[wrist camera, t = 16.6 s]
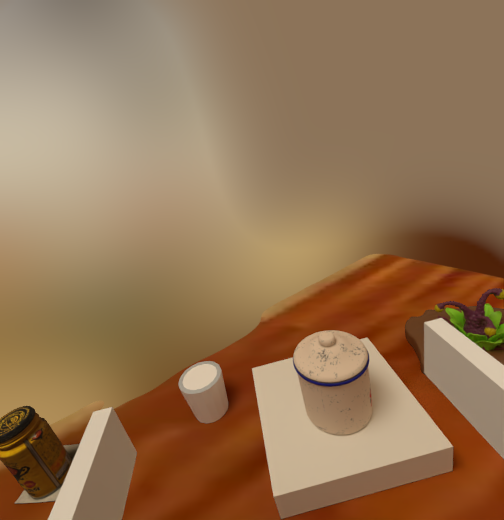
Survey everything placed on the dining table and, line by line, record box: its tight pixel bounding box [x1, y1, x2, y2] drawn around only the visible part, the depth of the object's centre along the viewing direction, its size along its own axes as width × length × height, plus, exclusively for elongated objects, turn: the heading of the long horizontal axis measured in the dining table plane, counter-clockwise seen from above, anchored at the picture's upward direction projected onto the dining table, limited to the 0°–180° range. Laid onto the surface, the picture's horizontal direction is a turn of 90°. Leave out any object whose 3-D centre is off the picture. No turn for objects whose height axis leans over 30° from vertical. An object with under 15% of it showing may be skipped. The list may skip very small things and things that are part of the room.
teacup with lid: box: [293, 330, 373, 435], centre depth 40 cm, size 12×9×12 cm
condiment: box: [0, 406, 80, 503], centre depth 44 cm, size 7×8×12 cm
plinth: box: [252, 338, 453, 519], centre depth 43 cm, size 20×20×4 cm
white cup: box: [179, 361, 228, 423], centre depth 49 cm, size 7×7×7 cm
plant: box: [405, 288, 504, 375], centre depth 47 cm, size 20×20×11 cm
